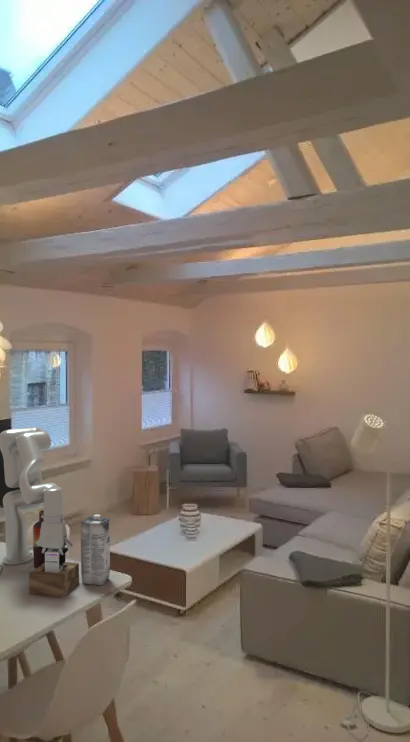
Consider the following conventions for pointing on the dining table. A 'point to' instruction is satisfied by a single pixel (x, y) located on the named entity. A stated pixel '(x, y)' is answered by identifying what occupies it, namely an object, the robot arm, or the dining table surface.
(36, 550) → the vase
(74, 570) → the socket block
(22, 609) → the dining table surface
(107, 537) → the juice carton
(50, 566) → the syrup box
